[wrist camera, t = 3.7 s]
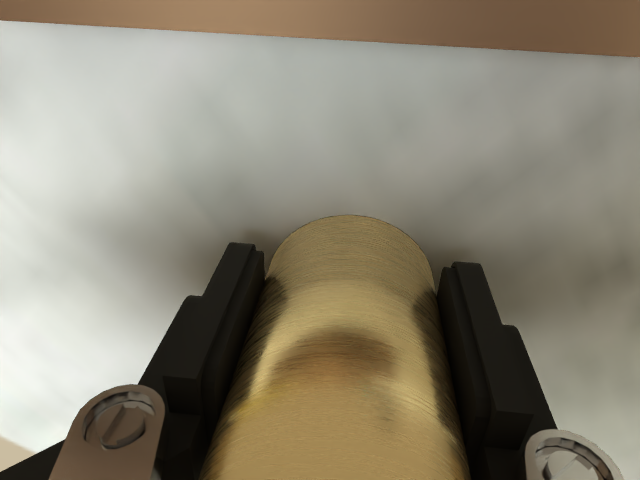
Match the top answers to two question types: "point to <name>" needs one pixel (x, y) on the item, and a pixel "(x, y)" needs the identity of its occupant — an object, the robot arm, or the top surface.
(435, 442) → the brass cylinder
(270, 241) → the top surface
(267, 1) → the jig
